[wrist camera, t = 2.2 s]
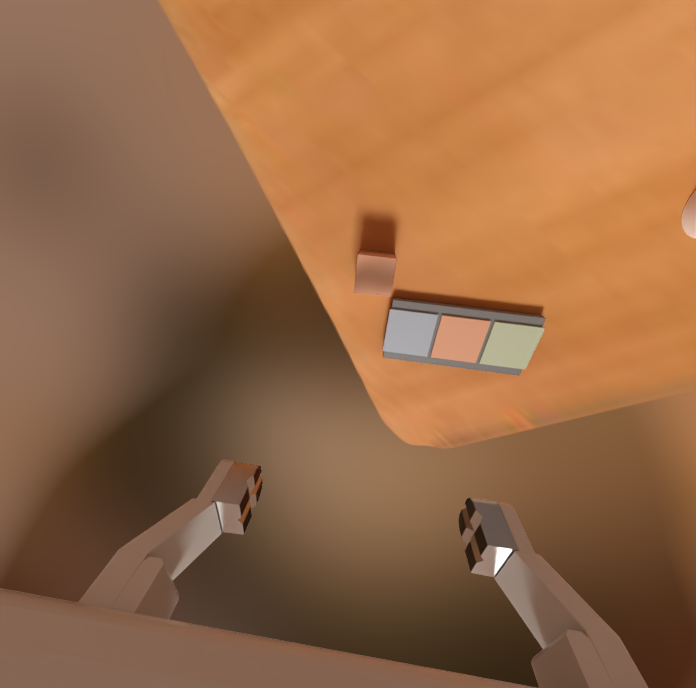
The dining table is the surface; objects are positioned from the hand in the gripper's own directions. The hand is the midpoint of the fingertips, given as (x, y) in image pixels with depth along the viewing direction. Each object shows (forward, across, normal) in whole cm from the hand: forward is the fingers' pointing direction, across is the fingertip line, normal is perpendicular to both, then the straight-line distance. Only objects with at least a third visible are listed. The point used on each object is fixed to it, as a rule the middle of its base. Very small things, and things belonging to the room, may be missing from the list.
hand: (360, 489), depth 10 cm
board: (+29, -13, +5) cm, 32 cm away
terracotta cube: (+29, 0, -3) cm, 29 cm away
